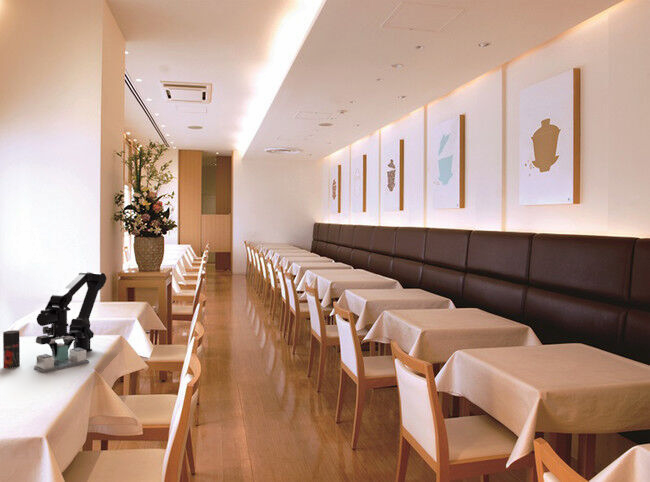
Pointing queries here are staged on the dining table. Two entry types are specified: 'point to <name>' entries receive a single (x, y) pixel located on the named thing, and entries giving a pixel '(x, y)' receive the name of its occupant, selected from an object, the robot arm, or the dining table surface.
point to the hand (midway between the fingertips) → (60, 355)
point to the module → (61, 352)
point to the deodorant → (11, 349)
